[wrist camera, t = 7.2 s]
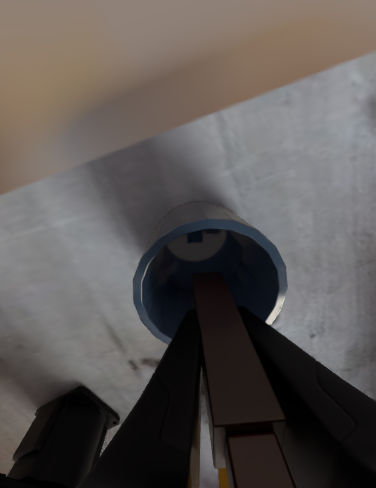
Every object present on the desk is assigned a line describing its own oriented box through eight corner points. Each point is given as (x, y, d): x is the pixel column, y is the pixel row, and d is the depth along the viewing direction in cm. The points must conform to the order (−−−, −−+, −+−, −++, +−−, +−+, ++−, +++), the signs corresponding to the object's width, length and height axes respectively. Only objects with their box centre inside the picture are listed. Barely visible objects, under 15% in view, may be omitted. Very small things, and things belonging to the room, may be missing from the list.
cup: (261, 262, 17) (309, 313, 10) (184, 304, 18) (186, 373, 12) (217, 180, 14) (245, 184, 8) (131, 235, 15) (99, 274, 9)
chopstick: (221, 270, 11) (519, 933, 1) (221, 295, 11) (435, 897, 2) (191, 272, 11) (287, 970, 1) (193, 297, 11) (268, 923, 2)
